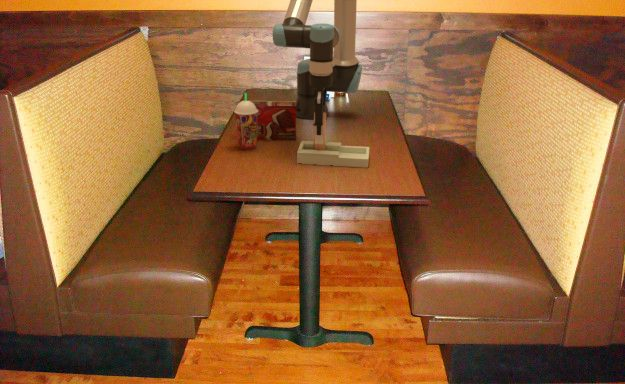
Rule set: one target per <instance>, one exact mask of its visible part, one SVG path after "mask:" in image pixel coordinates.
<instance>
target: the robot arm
mask: <svg viewBox="0 0 625 384" xmlns="http://www.w3.org/2000/svg"><path fill="white" fill-rule="evenodd" d="M333 1H334V3H333V5H334V7H333V8H334V9H333V12H334V13H333V20H334V21H333V24H331V23H330V24H329V23H320V22H319V23H314V24H312V25H310V24H309V25H308V24H307V20H308V17H309V14H310V11H311V7H312V3H313V0H290V1H289V4H288V7H287V10H286V12H285V15H284V18H283V22H280V23H276V24H274V25H273V28H272V29H273V30H272V43H273V45H275V47H283V48H296V49H297V48H298V49H309V58H307V59H306V58H305V59H304V60H300V61H299V62H298V63H297V68H296V69H297V70H296V75H297V76H296V86H297V87H296V98H295V101H296V118H298V119H305V120H314V113H315V123H314V122H313V124H312V125H313V127H314V126H315V144H323V112H325V113H326V121H327V116H328V115H329V107H328V104H327V95H328V92H329V93H343V94H355V93H357V92H358V90H359V87H360V82H361V77H362V72H363V65H362V64H359V59H358V58H357V56H356V35H357V34H356V33H357V28H356V27H357V3H358V2H357V1H358V0H333Z"/></svg>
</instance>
